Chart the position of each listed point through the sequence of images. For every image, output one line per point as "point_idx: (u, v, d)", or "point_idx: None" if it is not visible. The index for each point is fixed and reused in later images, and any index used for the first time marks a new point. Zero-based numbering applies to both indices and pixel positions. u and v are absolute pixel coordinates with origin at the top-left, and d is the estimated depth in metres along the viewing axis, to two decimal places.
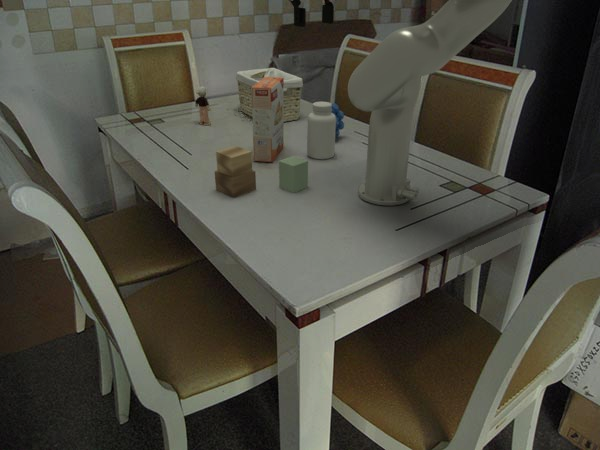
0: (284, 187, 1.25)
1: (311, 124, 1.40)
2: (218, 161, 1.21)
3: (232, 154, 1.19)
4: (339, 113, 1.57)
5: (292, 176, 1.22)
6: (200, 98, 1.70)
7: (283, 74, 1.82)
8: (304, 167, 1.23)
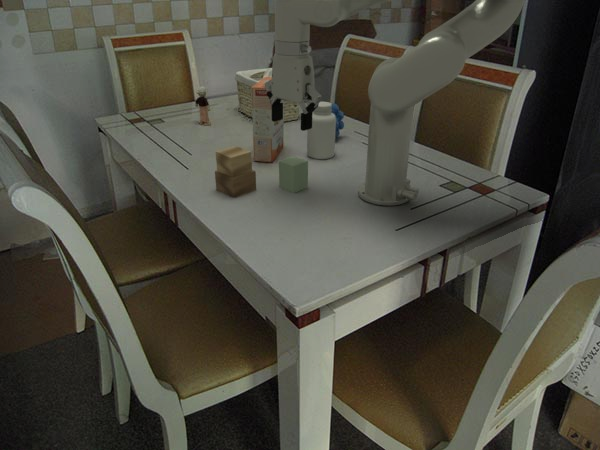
0: (284, 187, 1.25)
1: None
2: (218, 161, 1.21)
3: (232, 154, 1.19)
4: (339, 113, 1.57)
5: (292, 176, 1.22)
6: (200, 98, 1.70)
7: None
8: (304, 167, 1.23)
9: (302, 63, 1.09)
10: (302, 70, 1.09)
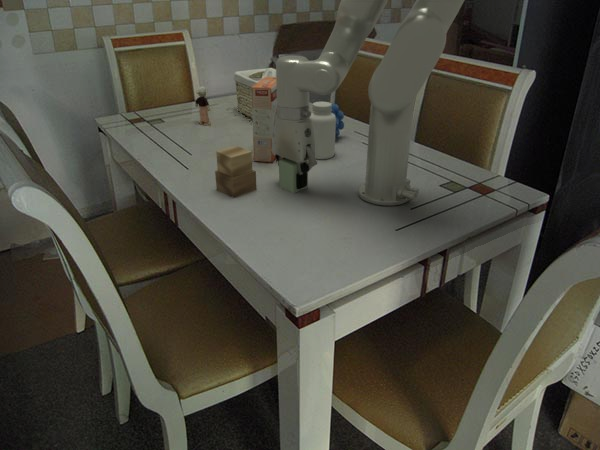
0: (284, 187, 1.25)
1: None
2: (218, 161, 1.22)
3: (232, 154, 1.19)
4: (339, 113, 1.57)
5: (292, 176, 1.22)
6: (200, 98, 1.70)
7: None
8: None
9: (303, 127, 1.15)
10: (303, 133, 1.16)
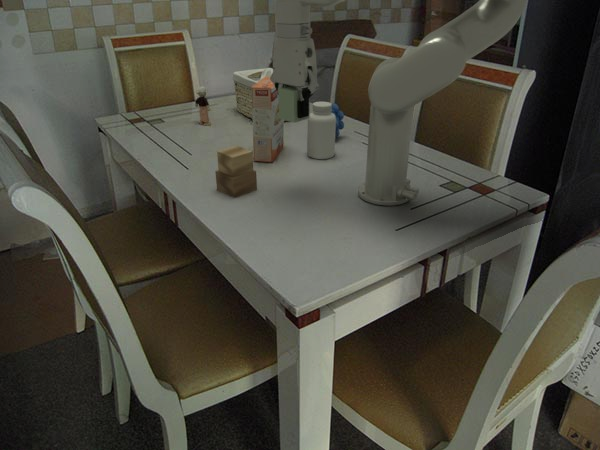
0: (284, 117, 1.17)
1: (311, 124, 1.40)
2: (219, 161, 1.22)
3: (233, 154, 1.19)
4: (339, 113, 1.57)
5: (293, 103, 1.13)
6: (200, 98, 1.70)
7: None
8: None
9: (303, 45, 1.07)
10: (303, 53, 1.08)
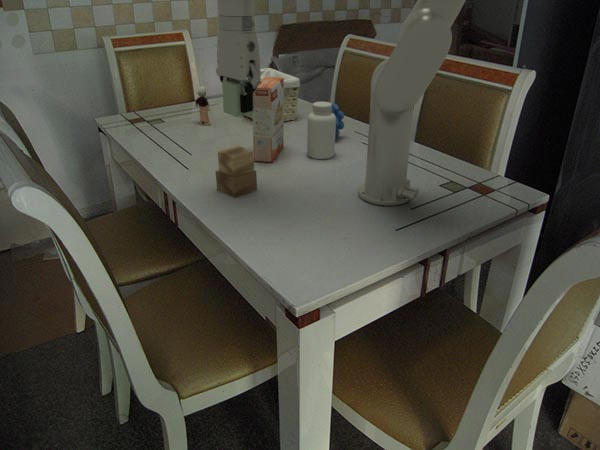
0: (228, 111, 1.15)
1: (311, 124, 1.40)
2: (220, 161, 1.22)
3: (234, 154, 1.19)
4: (339, 113, 1.57)
5: (236, 97, 1.12)
6: (200, 98, 1.70)
7: (280, 74, 1.82)
8: None
9: (245, 39, 1.05)
10: (245, 46, 1.06)
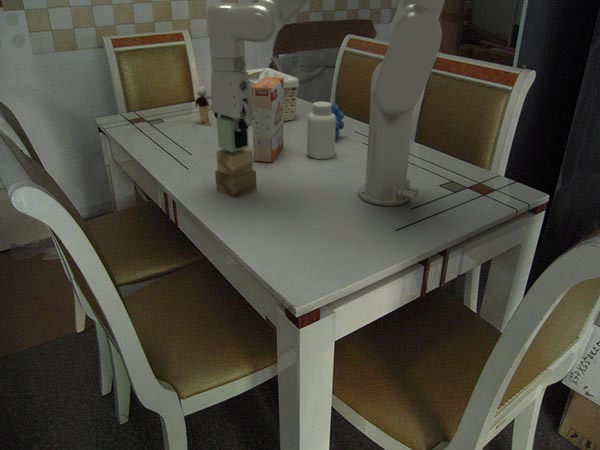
0: (223, 146, 1.19)
1: (311, 124, 1.40)
2: (218, 160, 1.22)
3: (233, 154, 1.19)
4: (339, 113, 1.57)
5: (230, 134, 1.15)
6: (200, 98, 1.70)
7: (279, 74, 1.81)
8: None
9: (237, 79, 1.09)
10: (237, 86, 1.09)
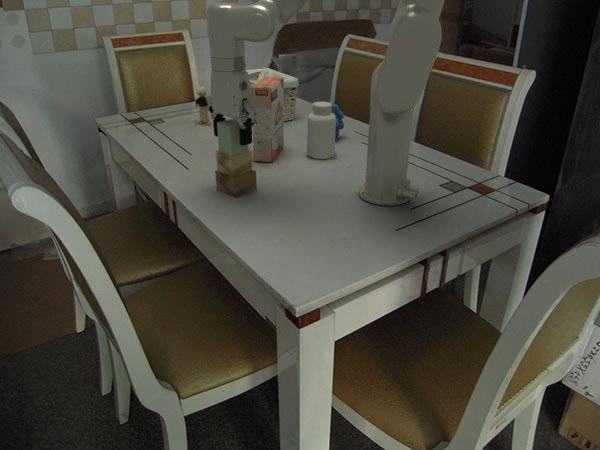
0: (223, 151, 1.19)
1: (311, 124, 1.40)
2: (218, 161, 1.22)
3: None
4: (339, 113, 1.57)
5: (230, 138, 1.16)
6: (200, 98, 1.70)
7: (278, 75, 1.81)
8: None
9: (237, 79, 1.09)
10: (237, 86, 1.09)
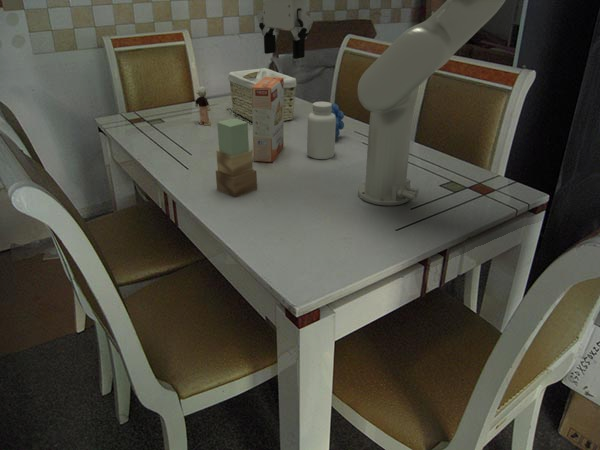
0: (223, 150, 1.20)
1: (311, 124, 1.40)
2: (218, 160, 1.22)
3: None
4: (339, 113, 1.57)
5: (230, 138, 1.16)
6: (200, 98, 1.70)
7: (276, 75, 1.81)
8: (243, 128, 1.17)
9: None
10: None
